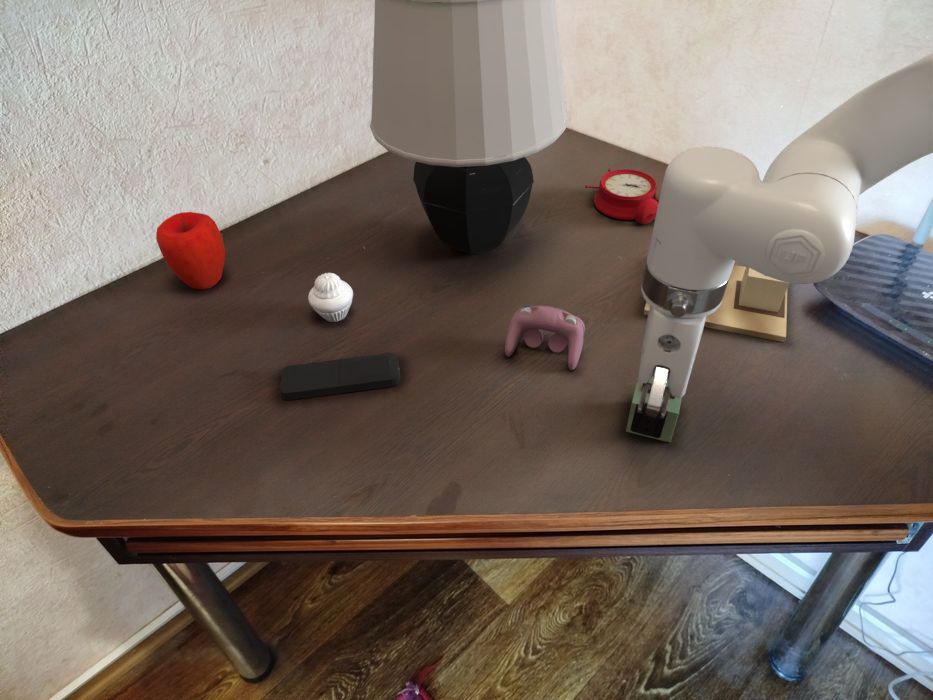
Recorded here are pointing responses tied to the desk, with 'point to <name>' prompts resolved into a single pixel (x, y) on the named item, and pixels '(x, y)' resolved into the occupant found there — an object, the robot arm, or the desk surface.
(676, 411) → the letter tile i
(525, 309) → the video game controller
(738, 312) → the word board
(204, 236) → the apple
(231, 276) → the desk surface
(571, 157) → the desk surface
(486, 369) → the desk surface
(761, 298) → the cream cube
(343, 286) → the muffin
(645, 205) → the alarm clock
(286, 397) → the remote control
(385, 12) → the table lamp
